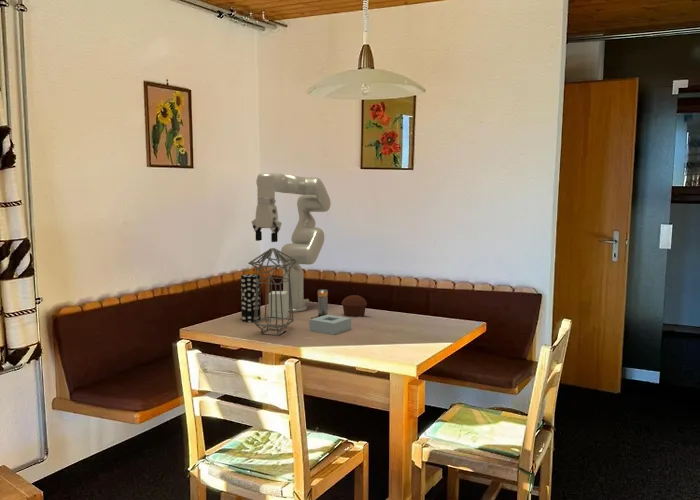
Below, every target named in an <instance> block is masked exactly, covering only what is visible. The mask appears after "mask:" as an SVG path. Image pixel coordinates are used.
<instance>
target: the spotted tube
mask: <svg viewBox="0 0 700 500" xmlns="http://www.w3.org/2000/svg"><path fill="white" fill-rule="evenodd" d="M260 277H261V274H258V273H257V281H258V280H259V279H260ZM259 282H261V280H260V281H259ZM240 297H241V299H240V301H241V302H240V303H241V309H240V310H241V322H244V323H254V313H255V298H256V273H247V274H246V273H245V274H241V275H240ZM261 314H262V313H261V283H258V321H259V320H261V319H262V316H261ZM261 321H262V320H261ZM255 322H256V319H255ZM259 322H260V321H259Z"/></svg>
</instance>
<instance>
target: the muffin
mask: <svg viewBox="0 0 700 500" xmlns="http://www.w3.org/2000/svg"><path fill="white" fill-rule="evenodd" d="M367 302H368V301H367V300H366V299H365V298H364V297H363V296H360V295H357V294H356V295H355V294H352V295H348V296H346V297H345V298H343V300H342V302H341V305H342V308H343V309H342V310H343V315H344V316H346V317H351V318H352V317H353V318H354V317H356V318H357V317H360V318H365V313H366V308H367V306H368V303H367Z"/></svg>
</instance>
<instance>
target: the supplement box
mask: <svg viewBox="0 0 700 500" xmlns="http://www.w3.org/2000/svg"><path fill="white" fill-rule="evenodd" d="M276 293H277V317H279V318H282V315H281V300H280V290H276ZM281 295H282V310H283V318H289V312H288V291H283V290H281ZM268 317H271V291H270V292H269V293H268ZM272 317H276V308H275V290H272ZM268 319H269V322H268V323H270V318H268ZM278 320H279V319H277V321H278ZM274 321H276V318H271V322H274Z"/></svg>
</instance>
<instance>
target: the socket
mask: <svg viewBox="0 0 700 500" xmlns="http://www.w3.org/2000/svg"><path fill="white" fill-rule="evenodd" d="M309 323H310V324H309V331H310V332H315V333H321V334H327V335H331V336H333V335H337V334H340V333H343V332H346V331H349V330H352V317H348V316H346V317H345V316H339V315H334V314H329V313H328V314H327V315H324V316H320V317H317V318H313V319H311V318H310V319H309Z"/></svg>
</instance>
